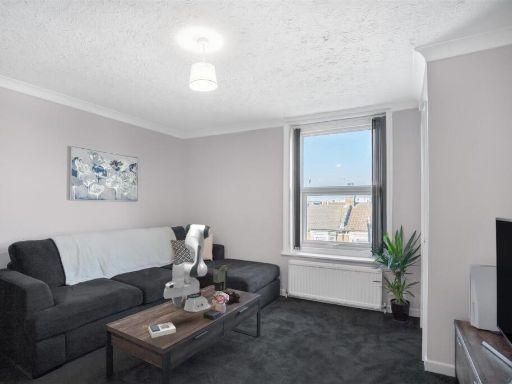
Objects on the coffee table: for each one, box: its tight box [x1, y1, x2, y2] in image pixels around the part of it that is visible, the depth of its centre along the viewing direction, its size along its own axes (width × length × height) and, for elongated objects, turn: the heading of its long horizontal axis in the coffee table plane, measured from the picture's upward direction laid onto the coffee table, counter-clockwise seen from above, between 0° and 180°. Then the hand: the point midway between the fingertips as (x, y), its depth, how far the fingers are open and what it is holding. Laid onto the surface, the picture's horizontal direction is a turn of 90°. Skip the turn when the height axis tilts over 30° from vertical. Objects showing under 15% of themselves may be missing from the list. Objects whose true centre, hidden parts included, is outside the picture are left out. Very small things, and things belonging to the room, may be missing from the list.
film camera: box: [224, 290, 241, 305], centre depth 263 cm, size 18×12×10 cm
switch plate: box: [147, 321, 177, 339], centre depth 204 cm, size 16×12×4 cm
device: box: [213, 263, 229, 295], centre depth 283 cm, size 14×8×30 cm, turn 144°
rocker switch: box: [173, 296, 182, 308], centre depth 213 cm, size 4×4×6 cm
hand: (177, 302), depth 213 cm, fingers closed on rocker switch, 4 cm apart
